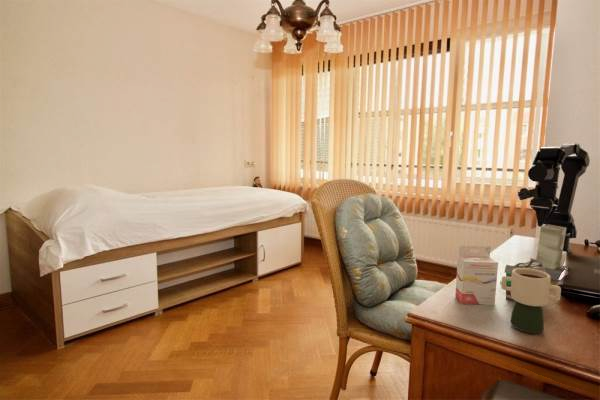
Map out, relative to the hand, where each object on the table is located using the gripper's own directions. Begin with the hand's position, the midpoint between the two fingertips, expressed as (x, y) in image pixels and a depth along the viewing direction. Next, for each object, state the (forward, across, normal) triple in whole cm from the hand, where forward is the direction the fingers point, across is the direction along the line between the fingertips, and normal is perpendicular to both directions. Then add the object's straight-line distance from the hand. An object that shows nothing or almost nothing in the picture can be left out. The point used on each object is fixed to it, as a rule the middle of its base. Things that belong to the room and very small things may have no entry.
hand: (541, 225), depth 123 cm
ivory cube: (+13, +3, +6) cm, 15 cm away
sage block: (+11, +15, +5) cm, 19 cm away
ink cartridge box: (+17, +52, -6) cm, 55 cm away
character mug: (+17, +60, +7) cm, 62 cm away
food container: (+16, +42, +4) cm, 45 cm away
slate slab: (+14, +15, +5) cm, 21 cm away
